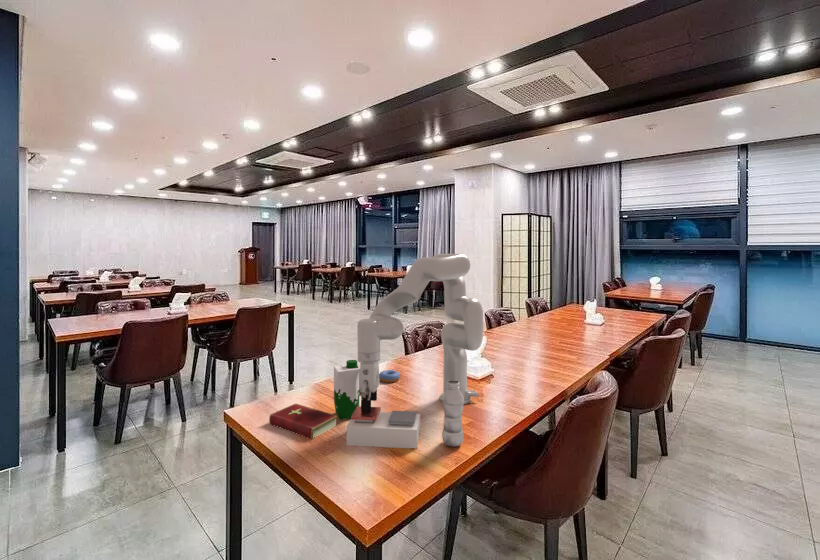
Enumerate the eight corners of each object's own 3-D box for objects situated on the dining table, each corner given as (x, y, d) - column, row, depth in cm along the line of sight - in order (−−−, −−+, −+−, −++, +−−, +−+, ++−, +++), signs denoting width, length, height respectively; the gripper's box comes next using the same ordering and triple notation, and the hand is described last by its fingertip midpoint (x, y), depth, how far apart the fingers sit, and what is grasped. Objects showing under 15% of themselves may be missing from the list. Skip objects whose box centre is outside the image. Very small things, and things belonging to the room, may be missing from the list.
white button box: (420, 430, 130) (419, 413, 130) (416, 448, 118) (416, 429, 118) (356, 427, 132) (355, 410, 132) (346, 445, 121) (346, 426, 120)
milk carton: (362, 417, 141) (361, 363, 139) (337, 421, 137) (336, 366, 136) (355, 408, 149) (355, 357, 147) (332, 412, 145) (331, 360, 144)
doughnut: (404, 380, 180) (403, 370, 180) (385, 385, 175) (384, 375, 175) (393, 376, 189) (392, 367, 189) (375, 381, 183) (374, 372, 183)
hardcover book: (312, 441, 124) (312, 428, 124) (269, 425, 135) (269, 414, 135) (337, 426, 134) (337, 415, 134) (296, 413, 145) (295, 402, 145)
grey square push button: (416, 430, 128) (416, 411, 128) (414, 442, 120) (414, 422, 120) (392, 429, 129) (392, 410, 129) (388, 441, 121) (388, 421, 121)
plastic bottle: (440, 439, 124) (440, 378, 122) (461, 438, 124) (461, 378, 123) (443, 450, 118) (444, 385, 116) (465, 449, 118) (466, 385, 117)
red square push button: (380, 426, 129) (380, 407, 129) (376, 437, 121) (376, 417, 121) (357, 425, 130) (357, 406, 130) (351, 436, 122) (351, 416, 122)
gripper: (374, 363, 120) (375, 417, 121) (384, 349, 137) (384, 396, 138) (351, 362, 121) (351, 416, 122) (363, 349, 138) (364, 395, 139)
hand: (369, 405), depth 130 cm, fingers open, 9 cm apart
